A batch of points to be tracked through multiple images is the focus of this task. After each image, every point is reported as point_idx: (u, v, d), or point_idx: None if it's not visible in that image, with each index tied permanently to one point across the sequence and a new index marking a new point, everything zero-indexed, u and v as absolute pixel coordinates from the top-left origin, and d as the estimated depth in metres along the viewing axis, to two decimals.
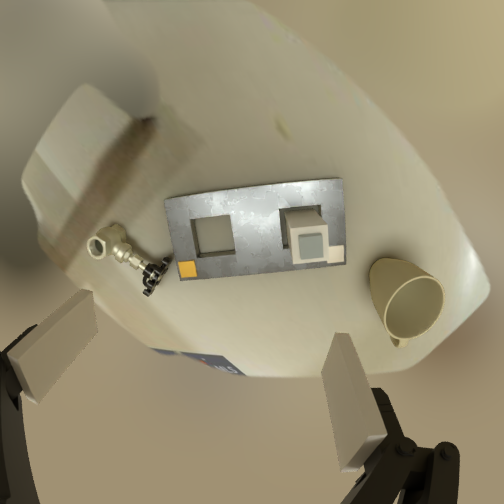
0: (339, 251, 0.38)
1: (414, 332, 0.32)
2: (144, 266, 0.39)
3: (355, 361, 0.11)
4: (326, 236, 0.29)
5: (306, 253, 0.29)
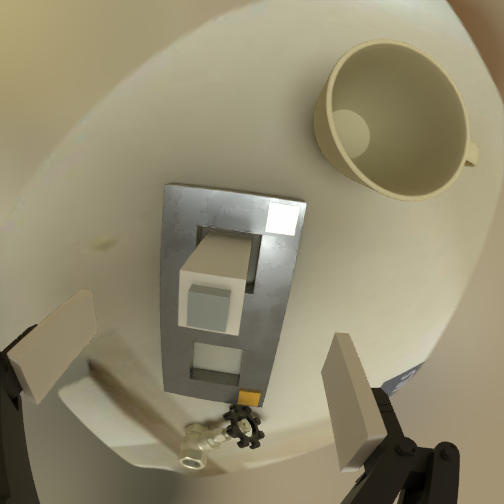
0: (279, 211, 0.23)
1: (457, 127, 0.12)
2: None
3: (355, 361, 0.11)
4: (200, 276, 0.17)
5: (215, 322, 0.16)
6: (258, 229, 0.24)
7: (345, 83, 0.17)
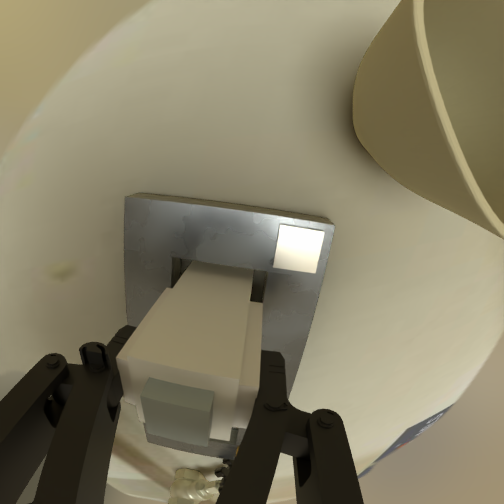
0: (294, 238, 0.15)
1: None
2: None
3: (256, 325, 0.13)
4: (160, 368, 0.09)
5: (191, 435, 0.09)
6: (262, 263, 0.16)
7: None
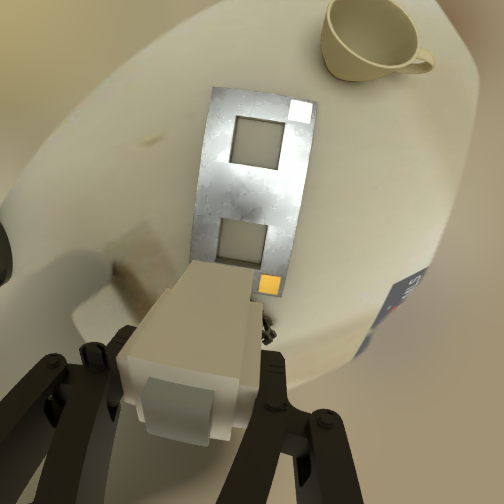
0: (298, 105, 0.28)
1: (412, 37, 0.17)
2: None
3: (256, 325, 0.13)
4: (160, 367, 0.09)
5: (191, 435, 0.09)
6: (282, 118, 0.29)
7: (341, 23, 0.22)
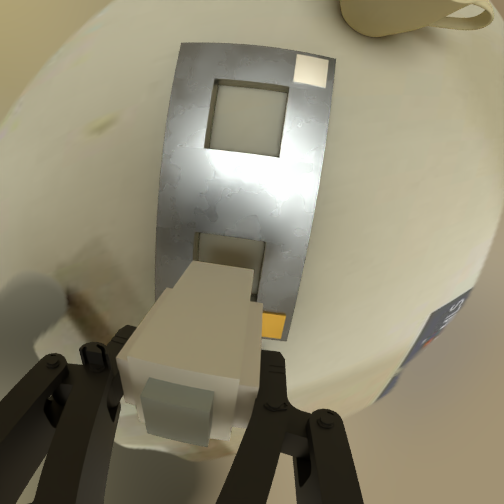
0: (307, 62, 0.17)
1: None
2: None
3: (256, 325, 0.13)
4: (160, 368, 0.09)
5: (191, 435, 0.09)
6: (284, 81, 0.18)
7: None
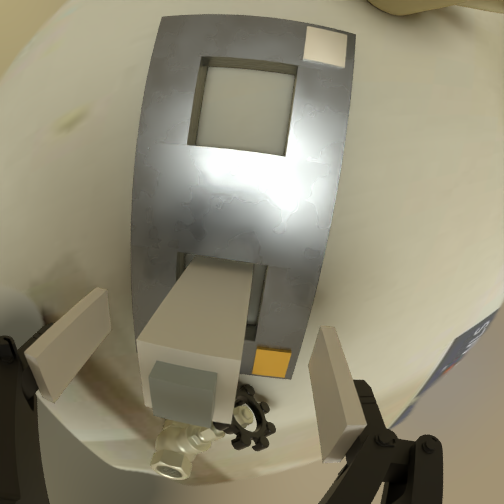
0: (320, 36, 0.12)
1: None
2: None
3: (338, 353, 0.12)
4: (167, 351, 0.10)
5: (195, 416, 0.10)
6: (292, 58, 0.13)
7: None
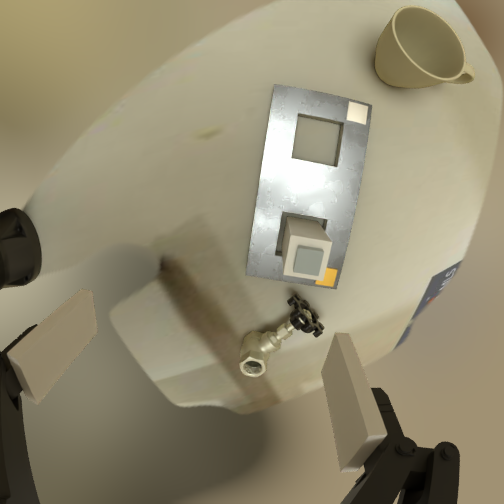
0: (355, 107, 0.29)
1: (458, 52, 0.17)
2: (291, 325, 0.36)
3: (355, 361, 0.11)
4: (303, 239, 0.26)
5: (313, 269, 0.26)
6: (341, 118, 0.30)
7: None
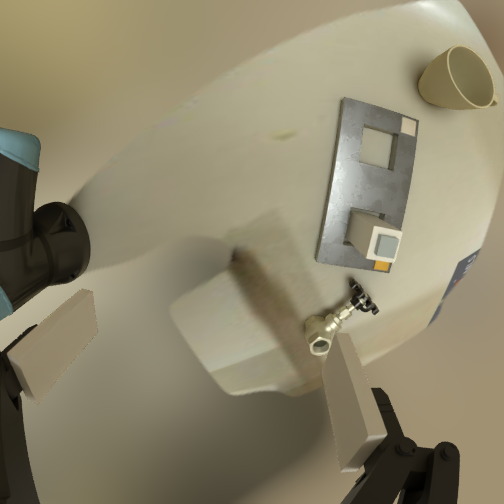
0: (407, 122, 0.33)
1: (489, 84, 0.22)
2: (351, 306, 0.41)
3: (355, 361, 0.11)
4: (383, 229, 0.30)
5: (390, 253, 0.30)
6: (396, 130, 0.34)
7: None
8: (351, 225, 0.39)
